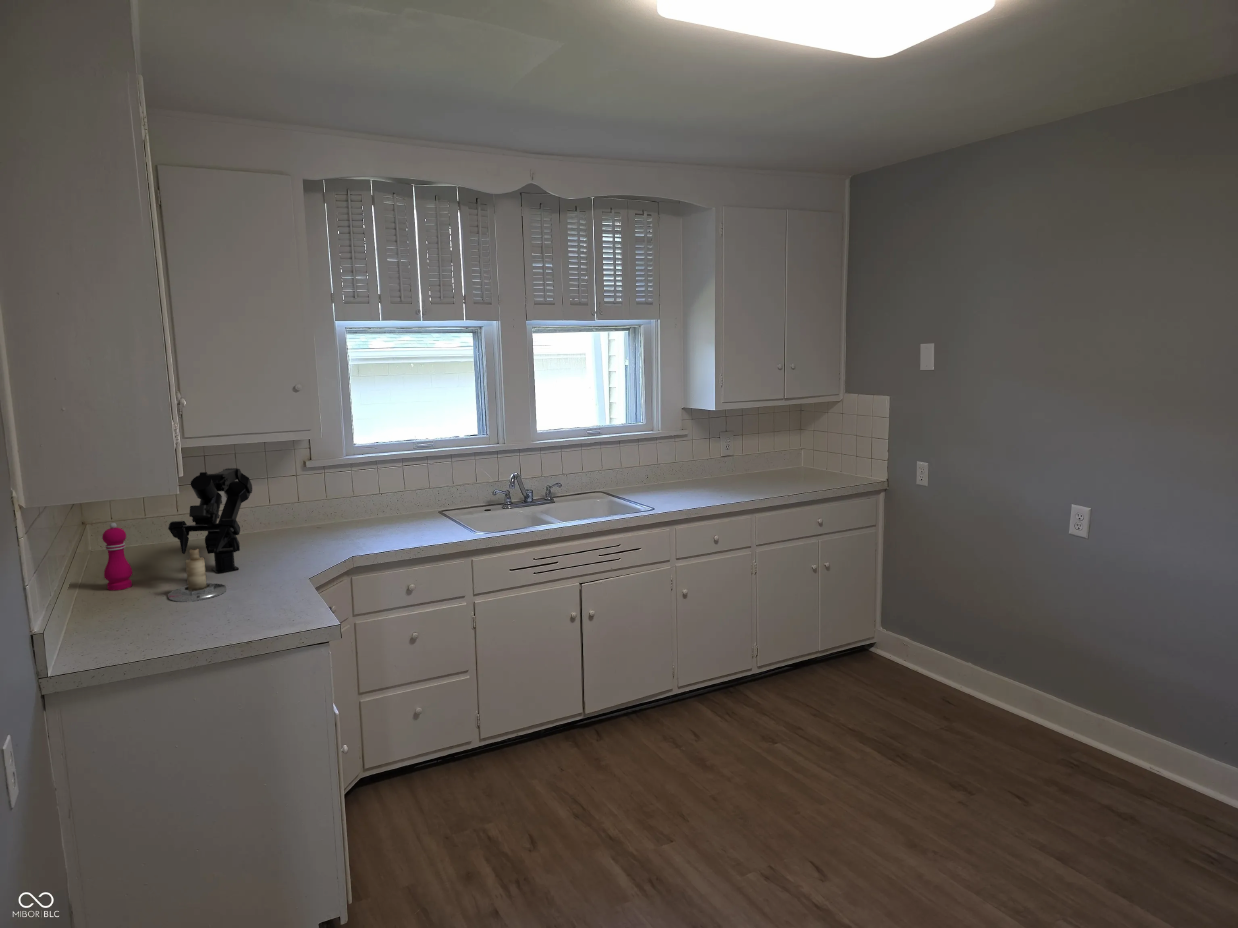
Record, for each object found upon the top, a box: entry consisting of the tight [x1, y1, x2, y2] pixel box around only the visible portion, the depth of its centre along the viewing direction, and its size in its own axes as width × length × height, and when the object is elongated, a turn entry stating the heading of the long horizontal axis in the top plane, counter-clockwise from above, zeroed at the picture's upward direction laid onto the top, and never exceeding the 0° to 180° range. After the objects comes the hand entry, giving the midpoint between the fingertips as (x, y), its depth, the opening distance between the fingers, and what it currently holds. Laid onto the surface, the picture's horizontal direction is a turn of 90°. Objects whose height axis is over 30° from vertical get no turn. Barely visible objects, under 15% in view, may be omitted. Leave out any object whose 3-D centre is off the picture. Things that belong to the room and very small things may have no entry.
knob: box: [185, 548, 207, 591], centre depth 229 cm, size 5×5×13 cm
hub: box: [167, 582, 227, 603], centre depth 230 cm, size 15×15×2 cm
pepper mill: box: [101, 522, 134, 591], centre depth 236 cm, size 7×7×20 cm
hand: (199, 552), depth 233 cm, fingers open, 9 cm apart
